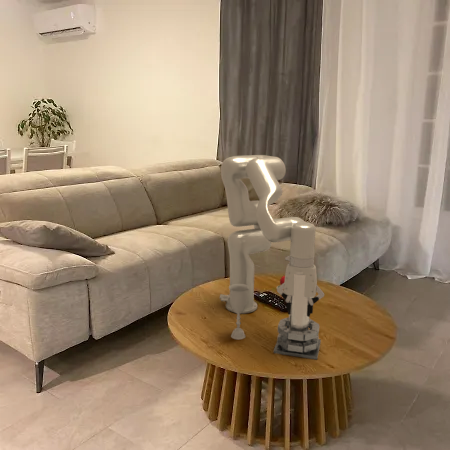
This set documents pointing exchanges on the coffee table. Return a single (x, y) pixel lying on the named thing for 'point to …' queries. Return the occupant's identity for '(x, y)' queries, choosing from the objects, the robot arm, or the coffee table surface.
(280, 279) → the apple
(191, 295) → the coffee table surface
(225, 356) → the coffee table surface
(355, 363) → the coffee table surface
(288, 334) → the collar stand
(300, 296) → the silver metal cylinder
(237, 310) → the chalice
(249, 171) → the robot arm
